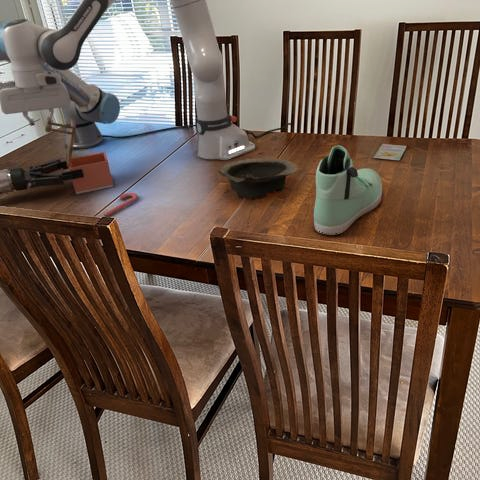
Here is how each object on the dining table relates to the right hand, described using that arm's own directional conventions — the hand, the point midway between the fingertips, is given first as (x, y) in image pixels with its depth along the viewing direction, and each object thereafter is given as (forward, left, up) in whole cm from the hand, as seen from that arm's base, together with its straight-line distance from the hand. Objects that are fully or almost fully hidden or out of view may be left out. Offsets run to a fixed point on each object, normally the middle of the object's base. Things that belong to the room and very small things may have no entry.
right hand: (41, 124), depth 152 cm
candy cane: (-14, +24, -24) cm, 36 cm away
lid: (-7, +1, -8) cm, 11 cm away
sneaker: (-69, +67, -24) cm, 99 cm away
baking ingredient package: (-109, +42, -24) cm, 119 cm away
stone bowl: (-55, +39, -24) cm, 72 cm away
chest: (-11, +2, -24) cm, 26 cm away
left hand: (-9, +1, -17) cm, 19 cm away
